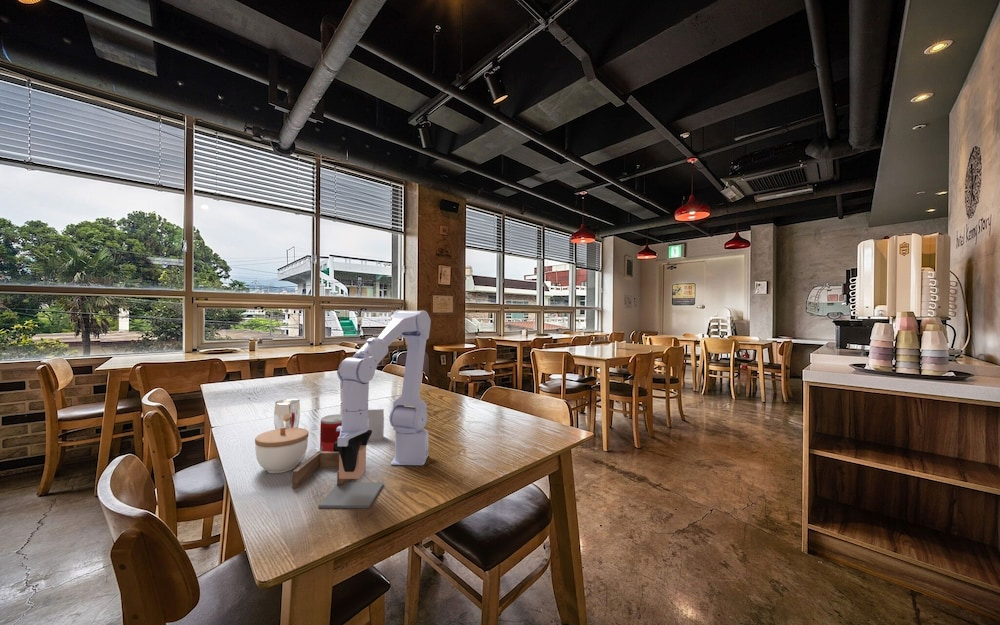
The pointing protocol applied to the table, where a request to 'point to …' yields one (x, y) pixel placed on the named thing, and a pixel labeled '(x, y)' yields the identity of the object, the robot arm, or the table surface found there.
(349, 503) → the coaster
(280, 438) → the lidded bowl
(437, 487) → the table surface
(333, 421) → the canned food
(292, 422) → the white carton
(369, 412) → the grey rectangular block
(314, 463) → the brown piece
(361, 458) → the block
